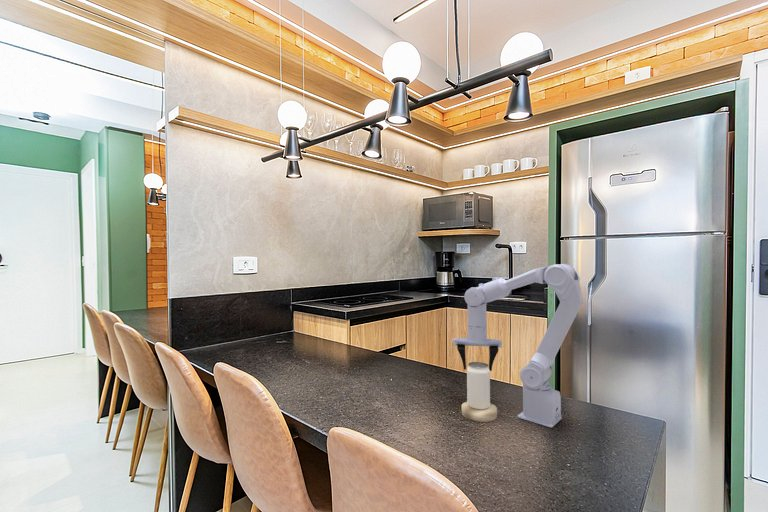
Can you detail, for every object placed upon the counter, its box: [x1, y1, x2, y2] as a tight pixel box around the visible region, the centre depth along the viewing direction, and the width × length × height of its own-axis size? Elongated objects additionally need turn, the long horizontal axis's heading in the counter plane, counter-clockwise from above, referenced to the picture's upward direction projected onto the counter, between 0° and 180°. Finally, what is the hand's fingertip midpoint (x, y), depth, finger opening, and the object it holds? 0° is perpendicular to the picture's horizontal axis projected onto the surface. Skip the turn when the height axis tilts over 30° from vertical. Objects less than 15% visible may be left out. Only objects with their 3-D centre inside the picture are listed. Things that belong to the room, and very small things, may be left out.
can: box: [466, 361, 491, 410], centre depth 106 cm, size 6×6×12 cm
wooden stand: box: [461, 401, 498, 423], centre depth 105 cm, size 10×10×2 cm
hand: (477, 369), depth 114 cm, fingers open, 7 cm apart
